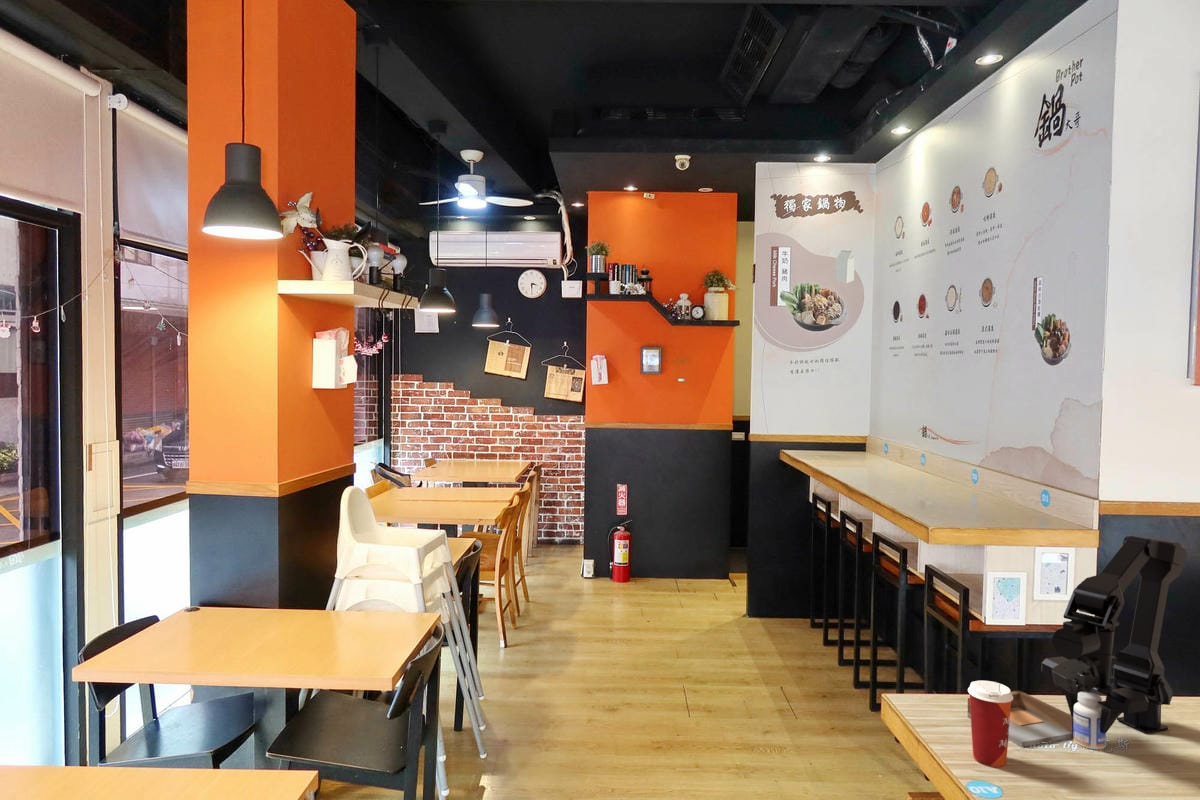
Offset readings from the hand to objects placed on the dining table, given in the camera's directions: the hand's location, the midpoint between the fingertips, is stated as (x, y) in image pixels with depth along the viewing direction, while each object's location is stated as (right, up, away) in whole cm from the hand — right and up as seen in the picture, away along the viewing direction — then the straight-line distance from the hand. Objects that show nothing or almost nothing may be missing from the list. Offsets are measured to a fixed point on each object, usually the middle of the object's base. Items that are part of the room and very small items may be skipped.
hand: (1088, 724), depth 148 cm
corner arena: (-10, -4, +7) cm, 12 cm away
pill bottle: (0, -4, 0) cm, 4 cm away
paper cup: (-23, -4, -6) cm, 24 cm away
